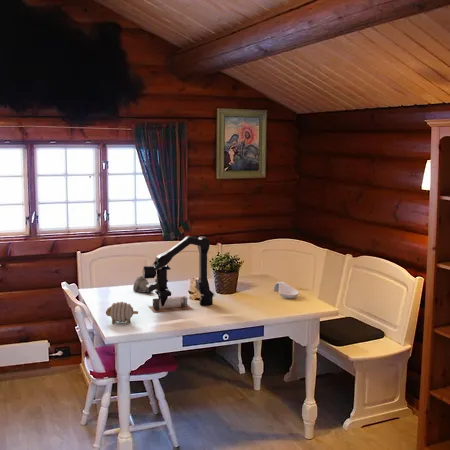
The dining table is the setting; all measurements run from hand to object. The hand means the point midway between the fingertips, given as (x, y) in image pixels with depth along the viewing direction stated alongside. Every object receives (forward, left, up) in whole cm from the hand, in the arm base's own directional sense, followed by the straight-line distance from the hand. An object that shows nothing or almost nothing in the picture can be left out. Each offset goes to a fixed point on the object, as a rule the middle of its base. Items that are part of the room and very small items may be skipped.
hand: (161, 305), depth 355 cm
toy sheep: (+25, +17, -3) cm, 31 cm away
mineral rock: (+1, -43, -3) cm, 43 cm away
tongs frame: (-5, 0, -1) cm, 5 cm away
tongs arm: (-4, +1, -1) cm, 4 cm away
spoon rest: (-78, -10, -3) cm, 79 cm away
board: (-5, +1, -3) cm, 6 cm away
